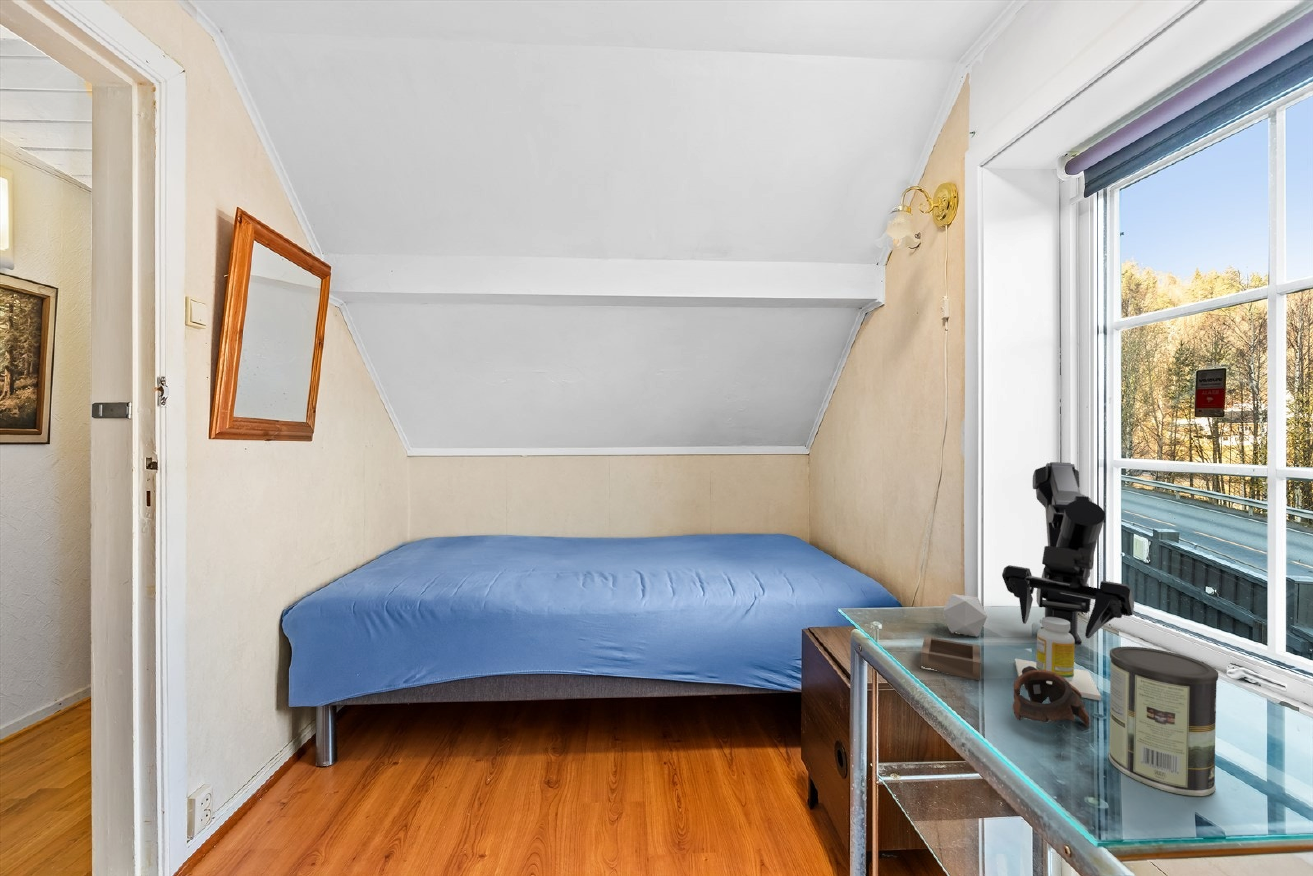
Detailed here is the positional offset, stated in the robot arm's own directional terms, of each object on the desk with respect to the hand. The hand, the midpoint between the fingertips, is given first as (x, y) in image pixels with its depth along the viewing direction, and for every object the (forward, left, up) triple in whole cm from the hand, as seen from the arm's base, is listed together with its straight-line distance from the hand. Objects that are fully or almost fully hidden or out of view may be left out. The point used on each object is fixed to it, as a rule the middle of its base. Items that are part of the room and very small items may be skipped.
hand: (1054, 629), depth 99 cm
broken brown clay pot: (+16, -3, -9) cm, 19 cm away
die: (-20, -14, -9) cm, 26 cm away
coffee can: (+25, +8, -9) cm, 28 cm away
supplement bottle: (-1, 0, -8) cm, 8 cm away
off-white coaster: (-1, 0, -9) cm, 9 cm away
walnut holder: (+1, -16, -9) cm, 18 cm away
